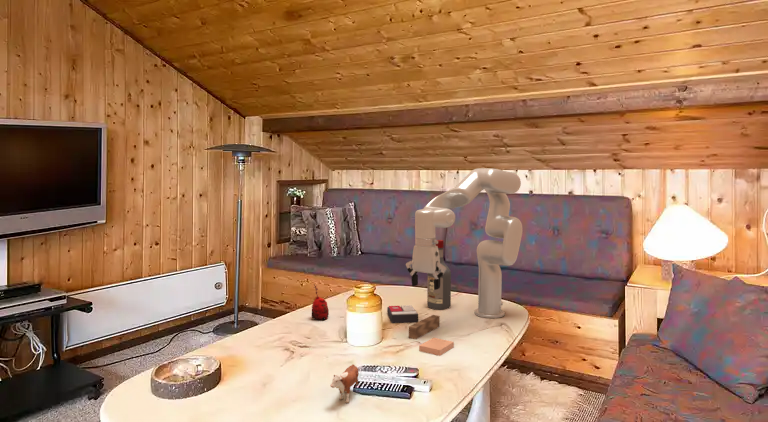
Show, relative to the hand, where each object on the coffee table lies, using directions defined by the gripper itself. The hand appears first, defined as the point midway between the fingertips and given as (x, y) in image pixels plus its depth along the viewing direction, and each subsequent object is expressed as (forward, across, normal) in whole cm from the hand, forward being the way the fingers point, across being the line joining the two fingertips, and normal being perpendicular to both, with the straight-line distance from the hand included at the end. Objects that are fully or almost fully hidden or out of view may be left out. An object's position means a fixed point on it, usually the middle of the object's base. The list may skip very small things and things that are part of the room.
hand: (425, 287), depth 194 cm
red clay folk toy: (+17, +44, +12) cm, 49 cm away
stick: (+17, 0, +1) cm, 17 cm away
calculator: (+18, +18, -10) cm, 27 cm away
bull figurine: (+16, -12, +61) cm, 64 cm away
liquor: (+18, +13, -32) cm, 39 cm away
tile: (+16, -13, +9) cm, 22 cm away
